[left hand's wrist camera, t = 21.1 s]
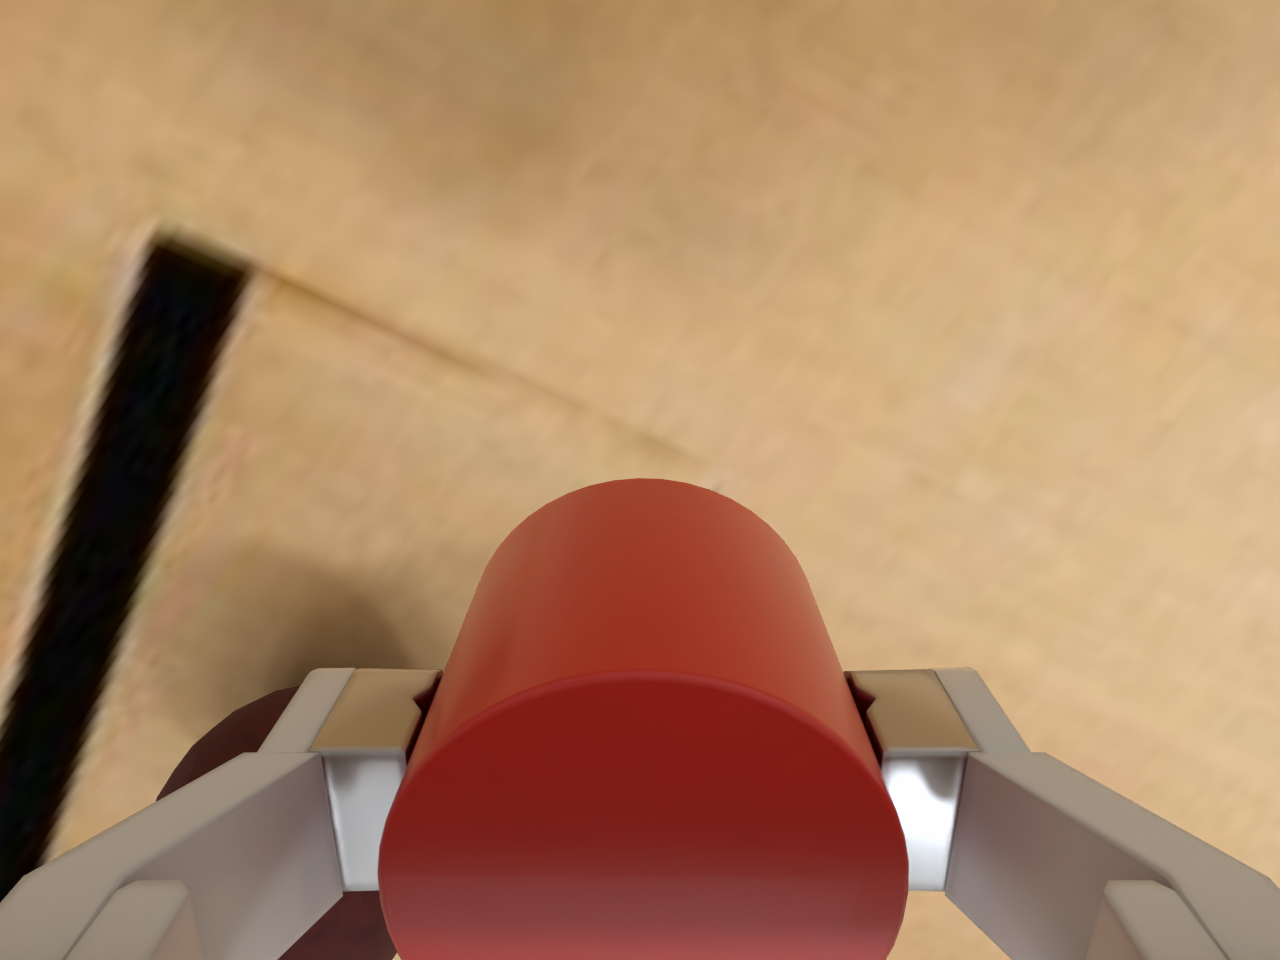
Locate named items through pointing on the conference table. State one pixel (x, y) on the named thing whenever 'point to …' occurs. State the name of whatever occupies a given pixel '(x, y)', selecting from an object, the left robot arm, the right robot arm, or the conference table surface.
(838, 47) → the conference table surface
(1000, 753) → the left robot arm
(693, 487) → the canister
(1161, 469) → the conference table surface
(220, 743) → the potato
